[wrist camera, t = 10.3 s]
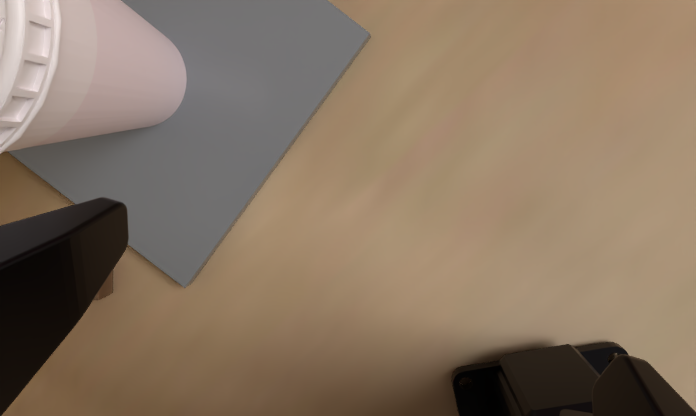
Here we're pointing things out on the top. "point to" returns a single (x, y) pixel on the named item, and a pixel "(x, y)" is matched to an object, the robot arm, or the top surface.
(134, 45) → the smoothie
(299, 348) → the top surface
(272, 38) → the plate
